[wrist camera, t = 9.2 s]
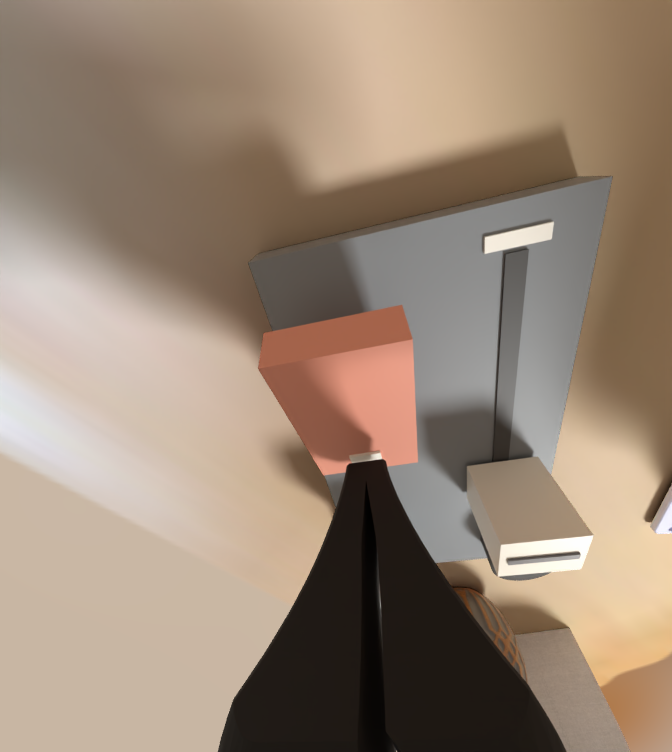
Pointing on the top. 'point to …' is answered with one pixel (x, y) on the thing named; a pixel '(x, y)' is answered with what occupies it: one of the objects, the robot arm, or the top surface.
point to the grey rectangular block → (570, 692)
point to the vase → (494, 627)
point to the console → (461, 330)
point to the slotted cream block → (526, 518)
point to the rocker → (347, 387)
